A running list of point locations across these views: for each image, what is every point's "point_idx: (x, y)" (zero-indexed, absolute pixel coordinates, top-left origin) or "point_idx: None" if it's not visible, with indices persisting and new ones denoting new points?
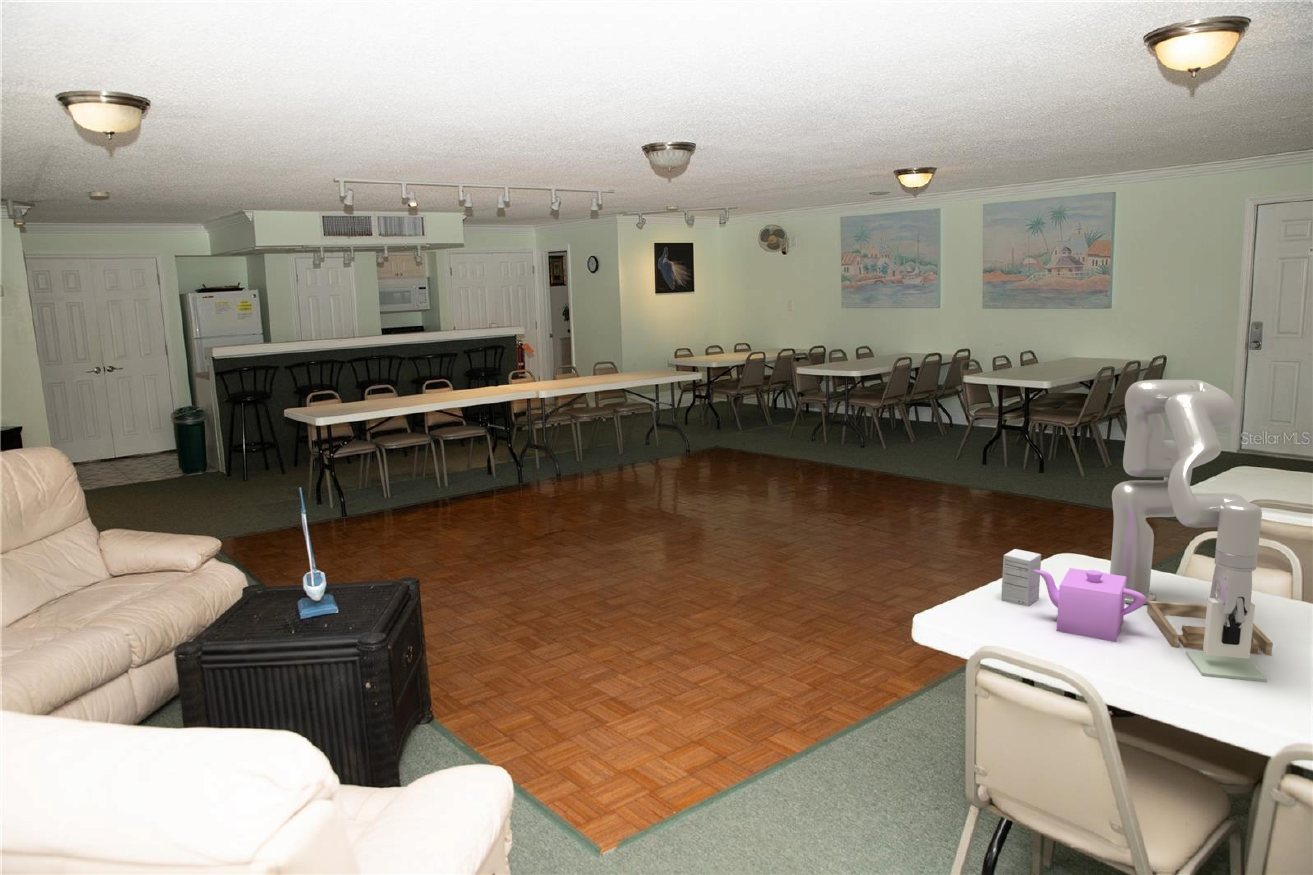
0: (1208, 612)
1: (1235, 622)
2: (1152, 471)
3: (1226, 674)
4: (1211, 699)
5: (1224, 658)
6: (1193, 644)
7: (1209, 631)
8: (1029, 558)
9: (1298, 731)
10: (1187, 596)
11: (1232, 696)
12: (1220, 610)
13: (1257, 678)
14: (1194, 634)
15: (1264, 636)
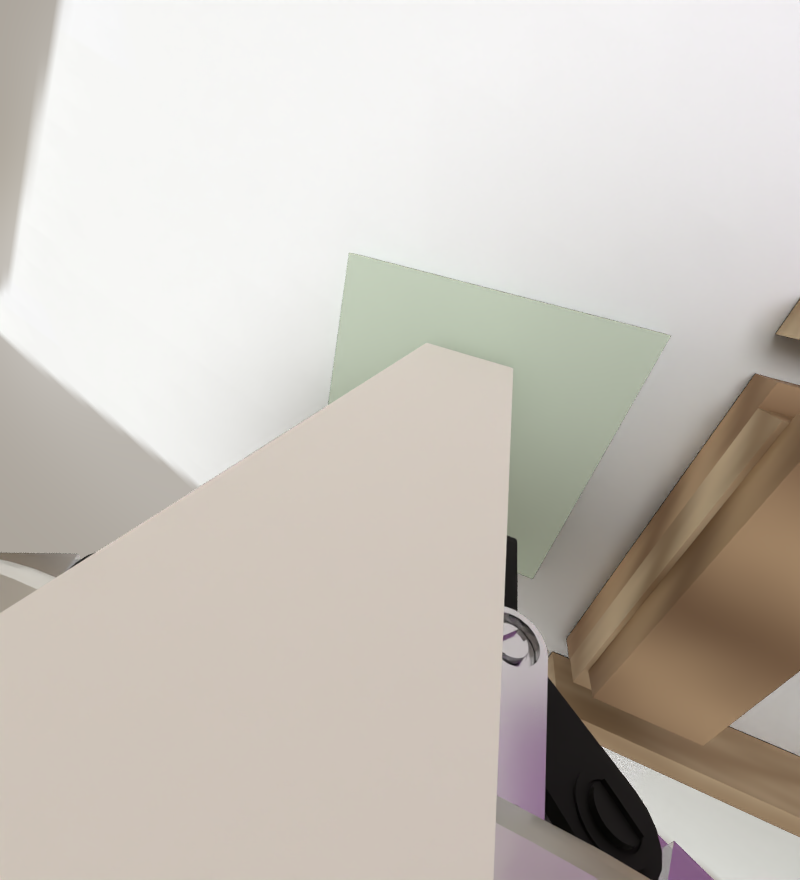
0: (386, 507)
1: (53, 556)
2: None
3: (341, 369)
4: (128, 157)
5: (514, 476)
6: (732, 432)
7: (372, 381)
8: None
9: (24, 345)
10: None
11: (180, 278)
12: (4, 597)
13: None
14: (782, 468)
15: (627, 751)
